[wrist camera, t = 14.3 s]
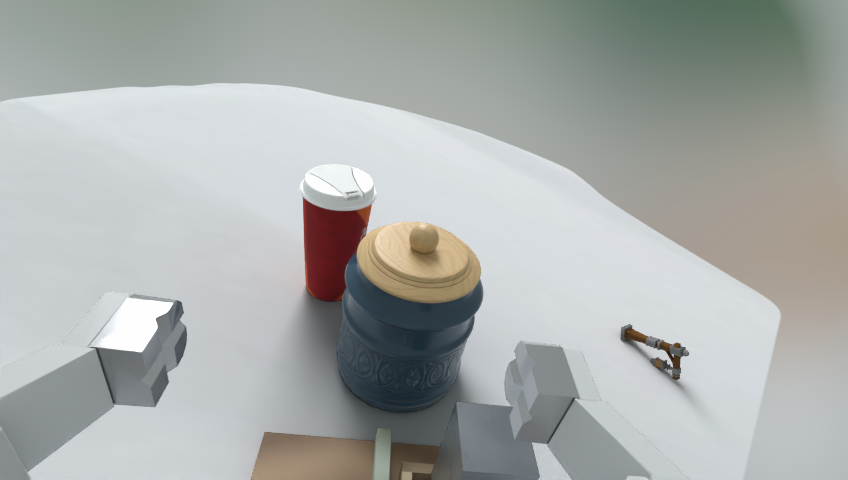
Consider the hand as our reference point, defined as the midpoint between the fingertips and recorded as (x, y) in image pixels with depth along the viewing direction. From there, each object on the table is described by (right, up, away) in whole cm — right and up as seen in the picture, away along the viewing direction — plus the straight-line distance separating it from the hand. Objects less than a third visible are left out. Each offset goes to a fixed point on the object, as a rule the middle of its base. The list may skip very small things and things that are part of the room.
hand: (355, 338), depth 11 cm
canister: (-1, -11, +38) cm, 39 cm away
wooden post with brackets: (+30, -12, +46) cm, 56 cm away
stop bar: (+4, -20, +24) cm, 31 cm away
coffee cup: (-10, -3, +46) cm, 47 cm away
